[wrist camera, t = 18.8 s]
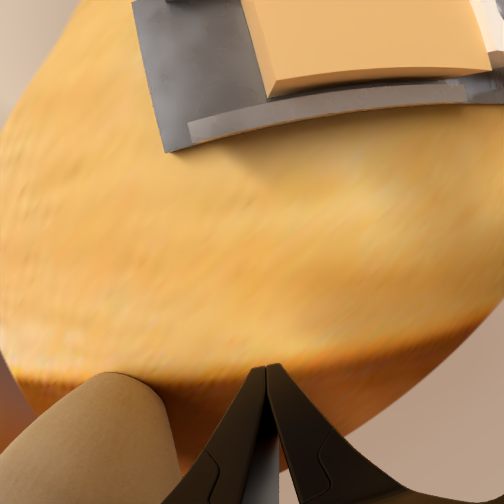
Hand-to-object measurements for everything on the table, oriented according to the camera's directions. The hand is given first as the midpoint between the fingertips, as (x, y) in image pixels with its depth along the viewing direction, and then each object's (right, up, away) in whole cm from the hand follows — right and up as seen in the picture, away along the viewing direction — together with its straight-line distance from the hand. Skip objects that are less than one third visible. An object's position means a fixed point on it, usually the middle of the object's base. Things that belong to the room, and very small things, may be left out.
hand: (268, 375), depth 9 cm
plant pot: (-11, -9, +15) cm, 21 cm away
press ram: (+5, +16, +5) cm, 17 cm away
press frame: (+6, +17, +6) cm, 19 cm away
